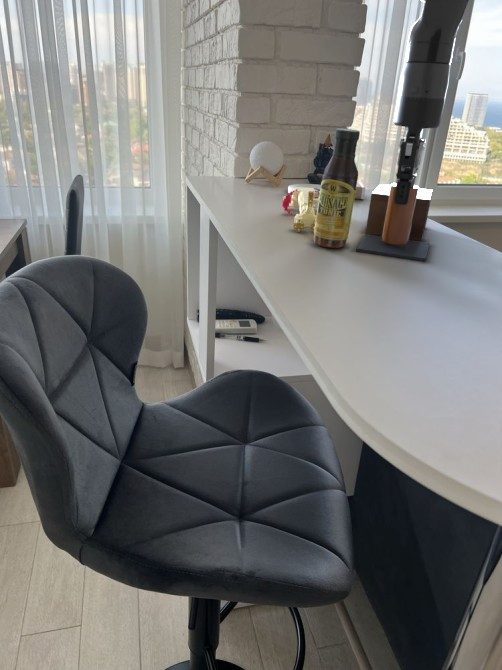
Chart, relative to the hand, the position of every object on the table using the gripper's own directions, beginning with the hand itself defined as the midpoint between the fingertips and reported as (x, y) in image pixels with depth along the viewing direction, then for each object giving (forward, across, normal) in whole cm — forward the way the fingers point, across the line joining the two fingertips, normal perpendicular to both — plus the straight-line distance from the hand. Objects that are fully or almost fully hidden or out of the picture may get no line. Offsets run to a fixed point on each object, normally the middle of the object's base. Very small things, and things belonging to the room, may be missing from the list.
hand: (402, 200), depth 89 cm
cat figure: (+9, +14, +21) cm, 27 cm away
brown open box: (+9, +14, +1) cm, 16 cm away
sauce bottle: (+9, -4, +11) cm, 15 cm away
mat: (+9, 0, 0) cm, 9 cm away
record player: (+9, +44, +23) cm, 51 cm away
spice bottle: (+7, 0, 0) cm, 7 cm away
